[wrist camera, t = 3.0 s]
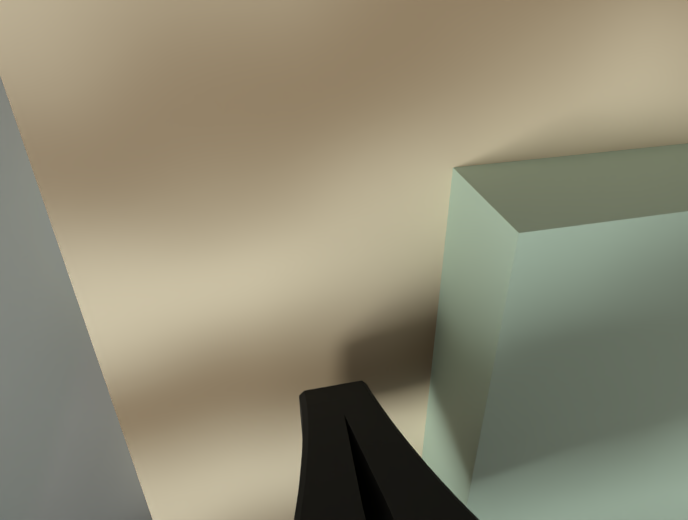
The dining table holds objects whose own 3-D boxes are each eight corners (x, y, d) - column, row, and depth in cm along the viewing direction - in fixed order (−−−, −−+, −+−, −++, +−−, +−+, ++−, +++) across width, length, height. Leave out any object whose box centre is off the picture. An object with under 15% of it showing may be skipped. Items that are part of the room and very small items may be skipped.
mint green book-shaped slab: (661, 442, 17) (725, 514, 15) (418, 495, 15) (451, 584, 13) (806, 130, 12) (938, 177, 9) (453, 167, 10) (518, 233, 8)
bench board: (889, 426, 22) (915, 446, 21) (189, 589, 17) (188, 623, 16) (1304, -99, 13) (1382, -100, 12) (-27, -85, 7) (-55, -84, 7)
